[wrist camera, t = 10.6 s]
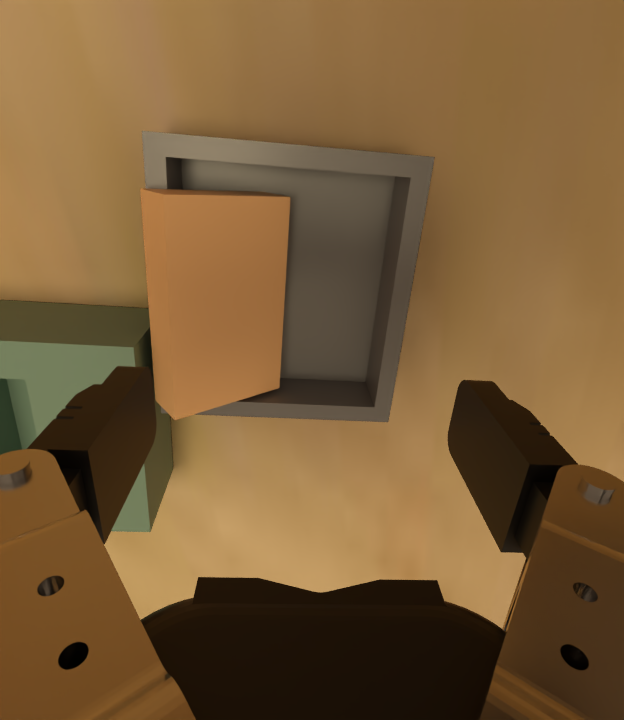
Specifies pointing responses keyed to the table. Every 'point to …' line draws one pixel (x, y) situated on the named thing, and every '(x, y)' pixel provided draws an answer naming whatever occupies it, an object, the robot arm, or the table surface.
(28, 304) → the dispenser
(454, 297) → the table surface
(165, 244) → the tan wooden plank
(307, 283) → the tray
